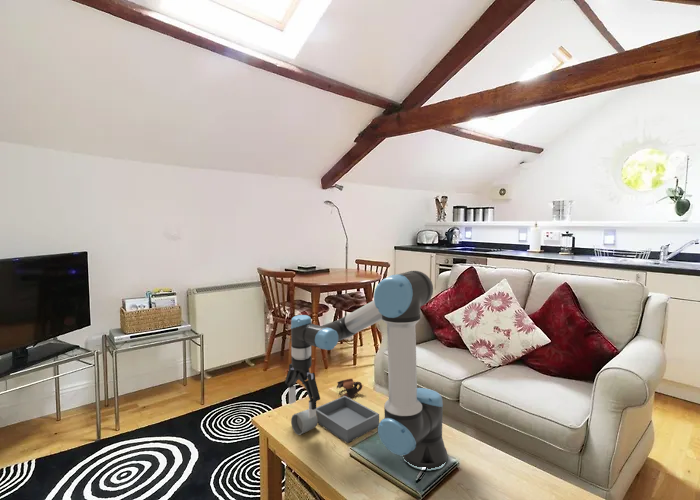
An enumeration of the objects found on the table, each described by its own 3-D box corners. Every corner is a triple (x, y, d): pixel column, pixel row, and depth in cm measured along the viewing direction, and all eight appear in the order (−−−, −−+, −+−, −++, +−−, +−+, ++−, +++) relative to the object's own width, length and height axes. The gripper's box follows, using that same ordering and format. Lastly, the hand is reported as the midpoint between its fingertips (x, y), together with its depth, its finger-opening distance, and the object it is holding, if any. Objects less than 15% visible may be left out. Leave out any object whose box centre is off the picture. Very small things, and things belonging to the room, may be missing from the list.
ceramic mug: (319, 429, 148) (319, 410, 147) (303, 438, 142) (302, 418, 141) (302, 419, 155) (301, 401, 155) (286, 428, 149) (285, 409, 149)
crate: (379, 426, 150) (379, 414, 149) (347, 443, 139) (347, 430, 138) (345, 406, 165) (344, 395, 165) (313, 420, 154) (313, 408, 154)
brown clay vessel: (337, 401, 171) (333, 382, 174) (341, 400, 180) (337, 382, 183) (363, 394, 171) (359, 375, 174) (365, 394, 179) (361, 376, 182)
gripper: (329, 363, 138) (329, 419, 141) (291, 345, 157) (292, 394, 159) (312, 369, 134) (313, 426, 136) (275, 349, 152) (276, 400, 154)
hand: (302, 409), depth 148 cm, fingers open, 13 cm apart
